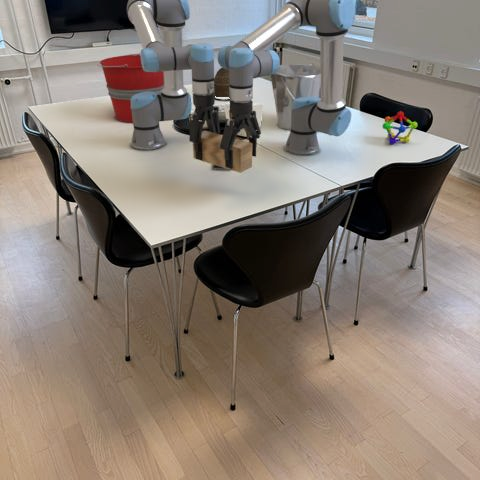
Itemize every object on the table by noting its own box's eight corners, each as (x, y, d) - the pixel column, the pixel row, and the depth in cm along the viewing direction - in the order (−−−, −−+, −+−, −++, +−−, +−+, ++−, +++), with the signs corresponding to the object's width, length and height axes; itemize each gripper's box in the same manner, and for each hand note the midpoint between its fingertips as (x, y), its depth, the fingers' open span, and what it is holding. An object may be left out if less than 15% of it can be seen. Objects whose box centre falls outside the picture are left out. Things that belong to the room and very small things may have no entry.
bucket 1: (115, 106, 261) (107, 52, 245) (174, 107, 260) (170, 52, 244) (97, 124, 232) (87, 64, 216) (164, 125, 231) (159, 65, 215)
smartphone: (212, 168, 182) (215, 154, 194) (213, 169, 182) (215, 156, 195) (230, 168, 182) (231, 154, 194) (230, 170, 182) (231, 156, 195)
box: (193, 158, 164) (192, 135, 159) (205, 152, 168) (204, 130, 163) (240, 173, 153) (240, 148, 148) (251, 166, 157) (252, 143, 153)
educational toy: (377, 146, 209) (379, 114, 202) (384, 138, 219) (386, 107, 211) (411, 149, 202) (415, 116, 195) (417, 141, 212) (420, 109, 204)
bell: (227, 105, 294) (202, 96, 282) (238, 66, 289) (213, 55, 277) (243, 108, 280) (217, 98, 268) (255, 66, 275) (229, 55, 263)
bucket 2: (296, 138, 215) (301, 78, 201) (255, 124, 234) (256, 68, 219) (335, 125, 232) (342, 70, 217) (294, 113, 251) (297, 61, 236)
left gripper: (192, 101, 143) (195, 167, 155) (229, 89, 157) (230, 150, 169) (175, 97, 147) (179, 161, 159) (213, 85, 160) (214, 146, 173)
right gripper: (226, 110, 133) (227, 175, 145) (272, 93, 150) (269, 153, 161) (207, 106, 137) (209, 170, 148) (254, 90, 154) (253, 148, 165)
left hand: (205, 156), depth 164 cm, fingers closed on box, 7 cm apart
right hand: (241, 161), depth 155 cm, fingers open, 13 cm apart
